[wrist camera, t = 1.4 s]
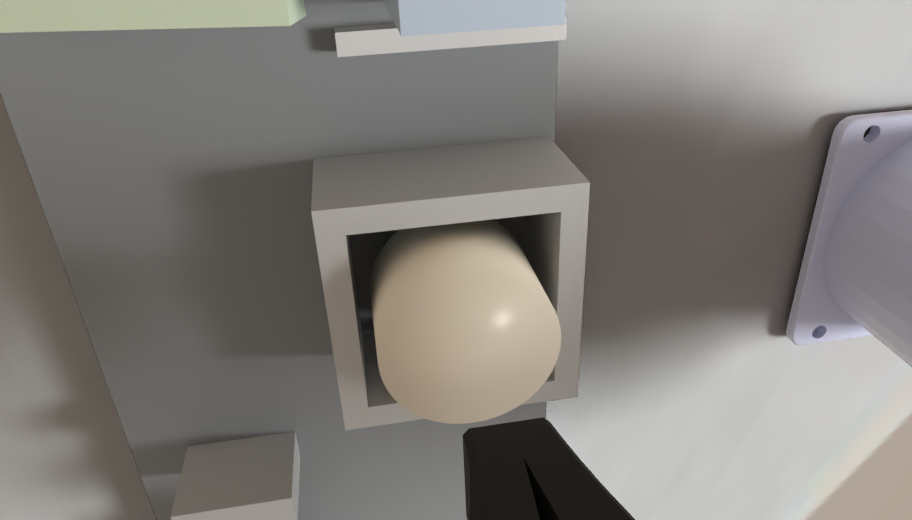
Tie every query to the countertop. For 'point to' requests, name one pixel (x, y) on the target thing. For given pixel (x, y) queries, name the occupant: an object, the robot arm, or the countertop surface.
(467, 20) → the block
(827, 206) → the robot arm
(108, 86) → the panel
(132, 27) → the block
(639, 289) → the countertop surface
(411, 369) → the button
